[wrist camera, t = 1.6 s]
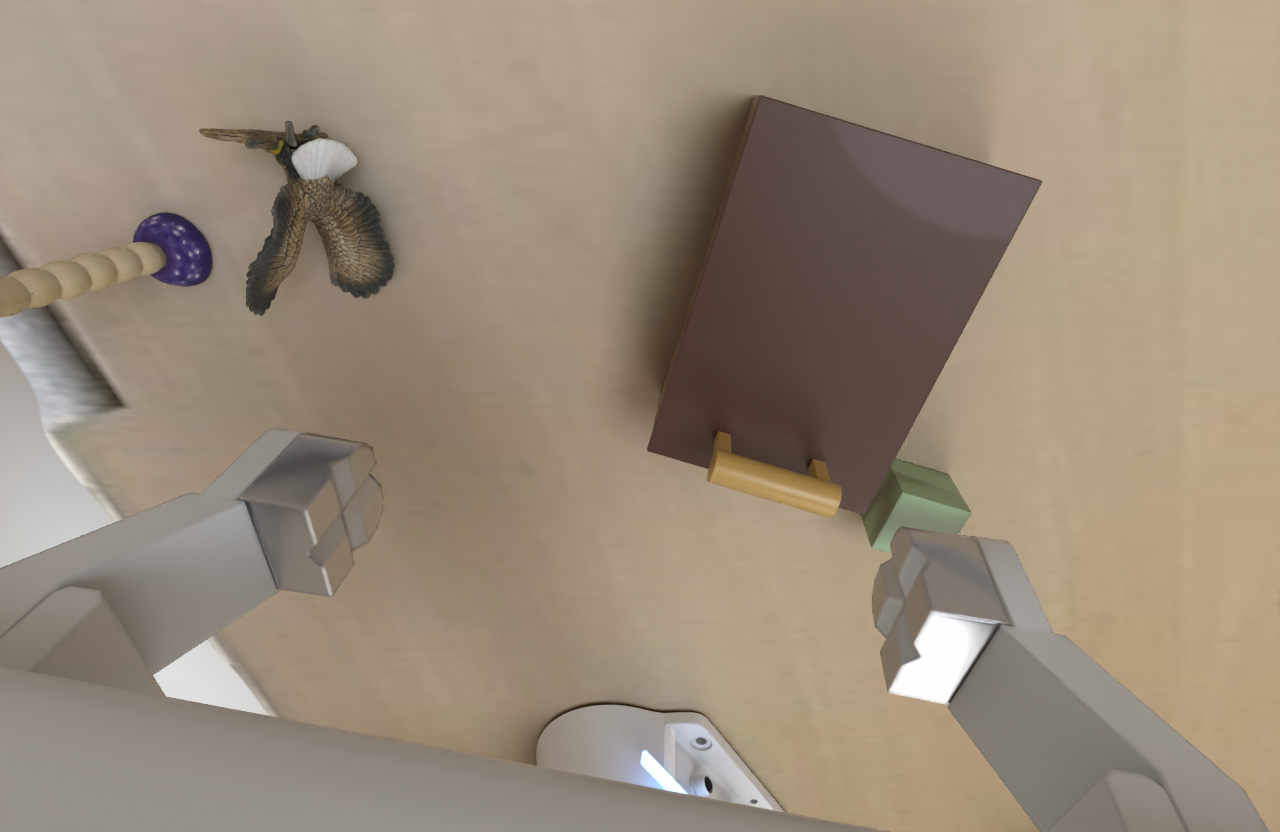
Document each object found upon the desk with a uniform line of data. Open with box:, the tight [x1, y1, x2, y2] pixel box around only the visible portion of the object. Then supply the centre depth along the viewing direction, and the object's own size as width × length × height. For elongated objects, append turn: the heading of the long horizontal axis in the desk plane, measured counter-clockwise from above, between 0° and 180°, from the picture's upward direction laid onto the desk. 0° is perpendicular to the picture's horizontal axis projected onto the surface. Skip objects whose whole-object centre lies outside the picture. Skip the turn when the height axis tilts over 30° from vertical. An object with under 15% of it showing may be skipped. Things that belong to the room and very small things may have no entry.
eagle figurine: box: [200, 121, 394, 316], centre depth 33 cm, size 8×7×9 cm
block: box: [861, 459, 971, 553], centre depth 38 cm, size 4×4×4 cm
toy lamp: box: [0, 213, 212, 317], centre depth 31 cm, size 5×5×17 cm
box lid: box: [647, 95, 1042, 518], centre depth 28 cm, size 17×12×4 cm
